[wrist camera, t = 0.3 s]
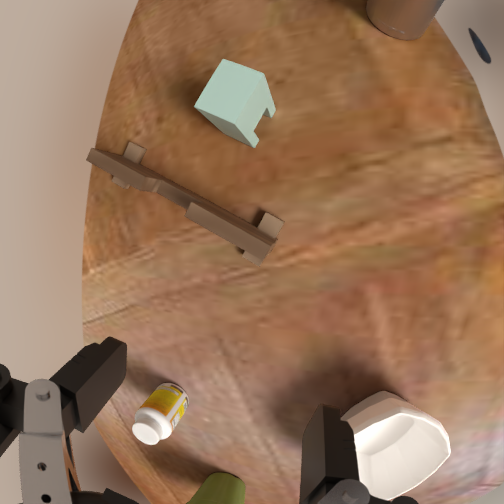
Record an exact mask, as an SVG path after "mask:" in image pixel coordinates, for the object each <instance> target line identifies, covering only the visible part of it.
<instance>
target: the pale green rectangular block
mask: <svg viewBox="0 0 504 504" xmlns="http://www.w3.org/2000/svg"><path fill="white" fill-rule="evenodd" d="M194 107H195V108H196V109H197V110H198V111H199V112H201V113H202V114H203V115H204V116H205V117H206V118H207V119H208V120H209V121H211V122H212V123H213V124H214V125H215V126H216V127H217V128H218V129H219V130H220V131H222V132H223V133H224V134H226V135H228V136H230V137H232V138H234V139H236V140H238V141H241V142H243V143H245V144H247V145H249V146H251V147H253V148H255V147H256V145H257V143H258V141H259V139H258V137H257V136H256V134H255V133H254V129H255V127H256V126H257V124H258V122H259V120H260V119H261V117H262V115H265V116H268V117H270V118H272V116H273V114H274V113H275V111H276V109H275V106H274V103H273V100H272V97H271V93H270V90H269V87H268V84H267V81H266V78H265V75H264V73H261V72H258V71H256V70H253V69H251V68H248V67H245V66H242V65H240V64H237V63H234V62H231V61H228V60H225V59H223V60H222V61H221V63H220V64H219V66H218V67H217V69H216V71H215V72H214V74H213V75H212V77H211V79H210V80H209V82H208V84H207V85H206V87H205V89H204V90H203V92H202V94H201V95H200V97H199V99H198V100H197V102H196V104H195V106H194Z"/></svg>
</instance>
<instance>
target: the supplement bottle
mask: <svg viewBox="0 0 504 504" xmlns="http://www.w3.org/2000/svg"><path fill="white" fill-rule="evenodd" d="M188 404H189V399H188V396H187V394H186V393H185V391H184V390H183V389H182V388H180V387H179V386H177V385H175V384H172V383H163V384H161V385H159V386H158V387H157V388H156V390H155V391H154V392H153V393H152V394H151V395H150V397H149V398H148V399H147V400H146V401H145V402H144V404H143V405H142V406H141V407H140V408H139V409H138V411H137V412H136V414H135V423H134V424H133V426H132V430H133V433H134V435H135V436H136V437H137V438H138V439H139V440H140V441H142V442H143V443H145V444H149V445H154V444H157V443H158V442H159V440H160V439H165V438H167V437H169V436H170V434H171V433H172V431H173V430H174V428H175V427H176V425H177V423H178V422H179V420H180V419H181V417H182V415H183V414H184V412H185V411H186V409H187V407H188Z"/></svg>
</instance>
